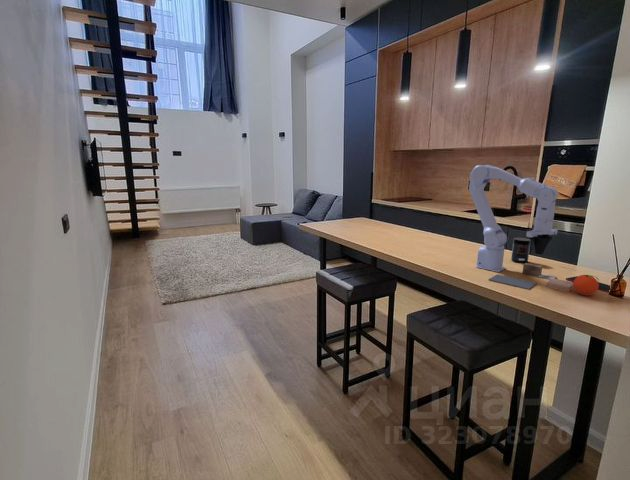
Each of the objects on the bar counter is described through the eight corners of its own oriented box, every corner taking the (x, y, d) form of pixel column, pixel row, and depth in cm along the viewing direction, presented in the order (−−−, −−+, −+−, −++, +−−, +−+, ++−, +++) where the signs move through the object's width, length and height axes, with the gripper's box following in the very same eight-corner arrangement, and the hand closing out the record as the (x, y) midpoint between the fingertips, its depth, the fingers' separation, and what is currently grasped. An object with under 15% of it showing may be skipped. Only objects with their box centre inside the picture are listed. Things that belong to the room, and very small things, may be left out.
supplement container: (524, 259, 163) (527, 237, 160) (530, 263, 156) (533, 241, 154) (508, 259, 164) (511, 237, 161) (514, 263, 157) (517, 240, 155)
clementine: (588, 290, 124) (592, 271, 122) (605, 298, 117) (609, 277, 115) (566, 291, 123) (569, 271, 122) (581, 298, 117) (585, 278, 115)
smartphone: (608, 291, 122) (564, 278, 135) (607, 294, 122) (564, 280, 135) (621, 288, 124) (577, 275, 138) (621, 291, 124) (577, 278, 138)
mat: (488, 280, 135) (488, 279, 135) (497, 275, 141) (497, 274, 141) (528, 289, 125) (529, 288, 125) (536, 283, 131) (537, 282, 130)
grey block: (521, 274, 142) (522, 264, 141) (525, 271, 145) (526, 262, 144) (553, 280, 134) (554, 270, 133) (556, 278, 137) (557, 268, 136)
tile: (546, 282, 128) (569, 287, 123) (552, 278, 132) (574, 282, 127) (545, 287, 128) (568, 292, 123) (551, 283, 133) (573, 287, 128)
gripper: (541, 222, 127) (535, 258, 130) (567, 219, 132) (561, 254, 135) (523, 219, 133) (518, 253, 136) (549, 216, 139) (544, 250, 142)
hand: (539, 253), depth 136 cm, fingers closed
